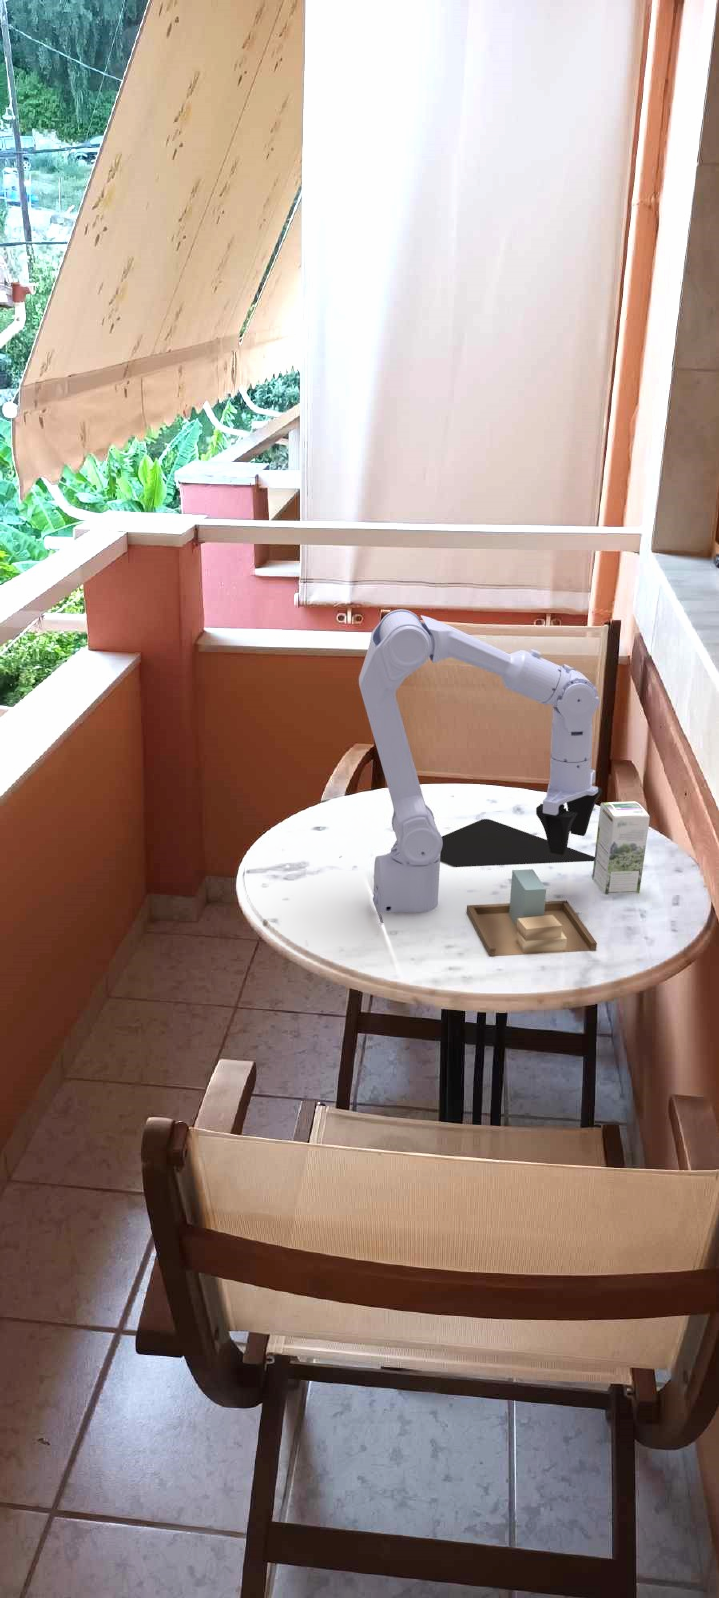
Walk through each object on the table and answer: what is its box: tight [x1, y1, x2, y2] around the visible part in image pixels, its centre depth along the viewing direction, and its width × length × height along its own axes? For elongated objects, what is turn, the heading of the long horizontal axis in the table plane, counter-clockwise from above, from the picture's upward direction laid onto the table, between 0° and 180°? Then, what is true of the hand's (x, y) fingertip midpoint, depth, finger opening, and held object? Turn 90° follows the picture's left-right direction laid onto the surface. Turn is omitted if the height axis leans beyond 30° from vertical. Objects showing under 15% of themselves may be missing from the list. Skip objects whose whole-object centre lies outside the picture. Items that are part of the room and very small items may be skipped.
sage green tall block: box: [509, 868, 547, 927], centre depth 162 cm, size 3×6×7 cm, turn 9°
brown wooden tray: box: [466, 900, 598, 957], centre depth 161 cm, size 15×13×3 cm
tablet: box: [440, 818, 595, 868], centre depth 188 cm, size 27×1×20 cm
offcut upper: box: [517, 915, 562, 941], centre depth 156 cm, size 5×3×2 cm, turn 105°
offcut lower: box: [516, 931, 567, 953], centre depth 157 cm, size 6×3×2 cm, turn 99°
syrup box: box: [591, 800, 651, 895], centre depth 173 cm, size 6×6×14 cm
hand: (568, 843), depth 168 cm, fingers open, 7 cm apart
